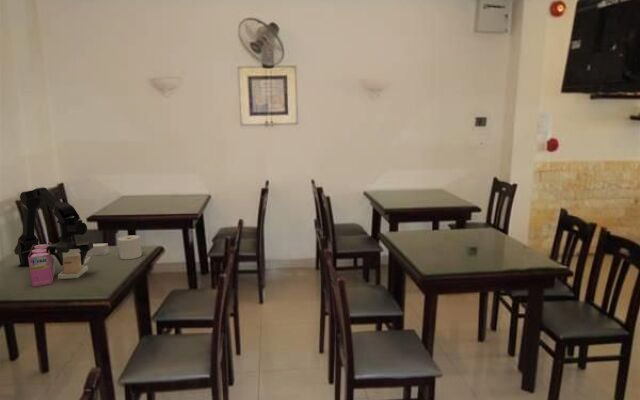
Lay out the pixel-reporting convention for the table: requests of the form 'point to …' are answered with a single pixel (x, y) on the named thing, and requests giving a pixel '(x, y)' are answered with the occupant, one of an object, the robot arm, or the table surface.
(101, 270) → the table surface
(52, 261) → the gum box
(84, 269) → the tray
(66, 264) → the tan cuboid block
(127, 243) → the toilet tissue
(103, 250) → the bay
